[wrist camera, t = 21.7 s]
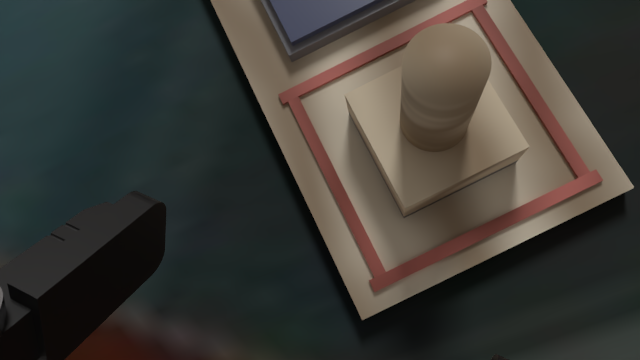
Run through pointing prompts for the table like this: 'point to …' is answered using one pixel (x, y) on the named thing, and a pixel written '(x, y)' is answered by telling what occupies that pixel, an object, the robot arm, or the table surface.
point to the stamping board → (364, 177)
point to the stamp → (436, 119)
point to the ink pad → (323, 20)
